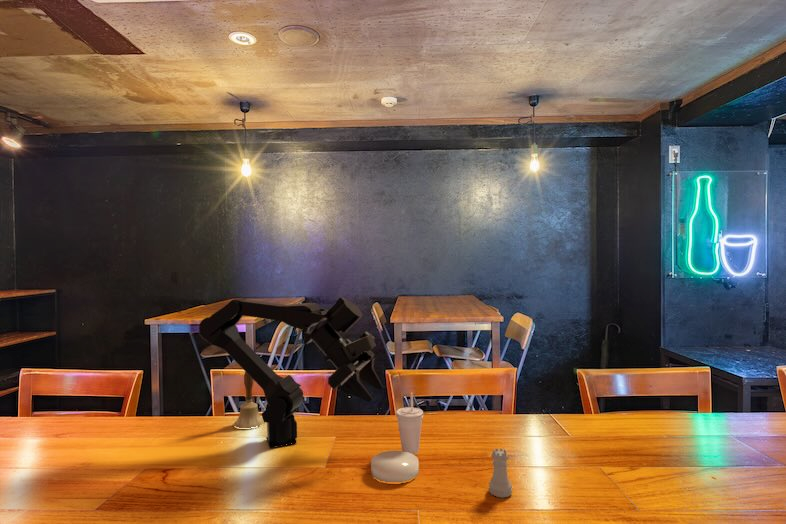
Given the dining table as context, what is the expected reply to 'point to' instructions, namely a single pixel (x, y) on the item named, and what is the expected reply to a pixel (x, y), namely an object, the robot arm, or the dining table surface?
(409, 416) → the smoothie
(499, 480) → the rook chess piece
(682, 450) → the dining table surface
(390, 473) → the stand
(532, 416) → the dining table surface
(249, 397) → the hand bell
